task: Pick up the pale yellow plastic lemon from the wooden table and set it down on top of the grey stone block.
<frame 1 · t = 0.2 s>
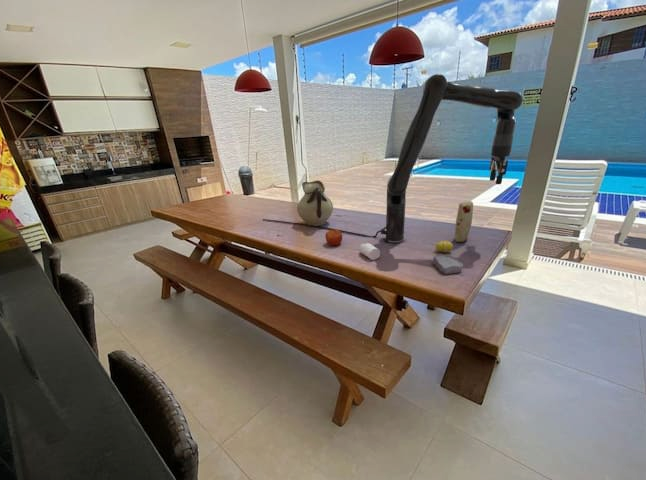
hand: (495, 182, 141), 29 cm above the table, tool pointing down, fingers open, 8 cm apart
roll: (368, 255, 145), on the table
food model: (460, 240, 155), on the table
cream drawstring sack: (317, 223, 194), on the table
tomato: (334, 244, 160), on the table
lemon: (443, 251, 144), on the table
stone block: (448, 268, 129), on the table
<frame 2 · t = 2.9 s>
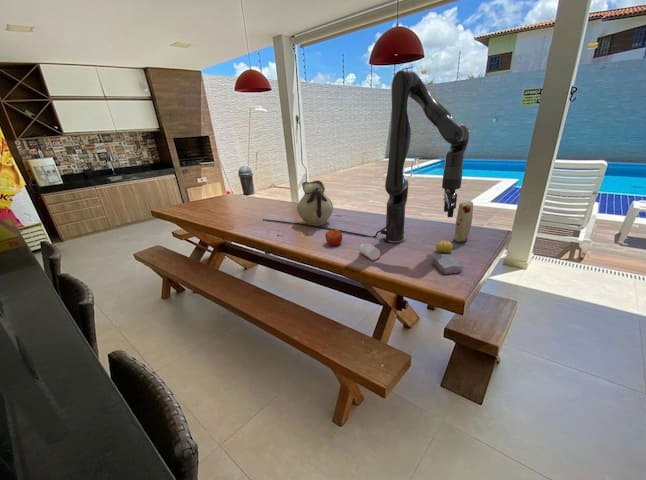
hand: (448, 214, 136), 18 cm above the table, tool pointing down, fingers open, 8 cm apart
nothing on the table moved.
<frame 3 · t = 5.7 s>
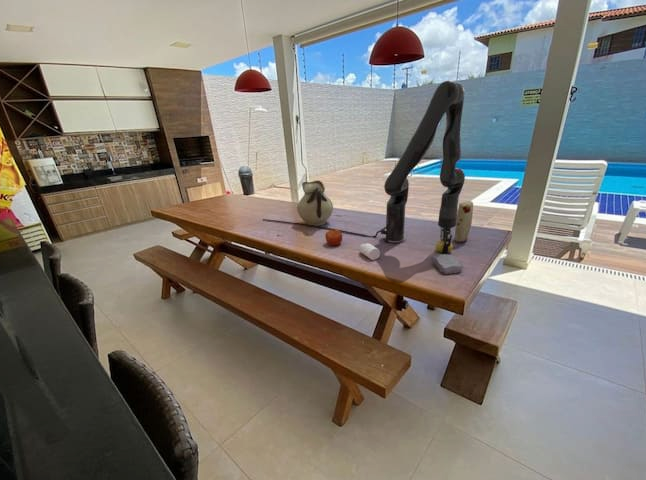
hand: (443, 250, 143), 1 cm above the table, tool pointing down, fingers closed on lemon, 5 cm apart
lemon: (443, 251, 144), on the table, touching gripper
everything else where it was.
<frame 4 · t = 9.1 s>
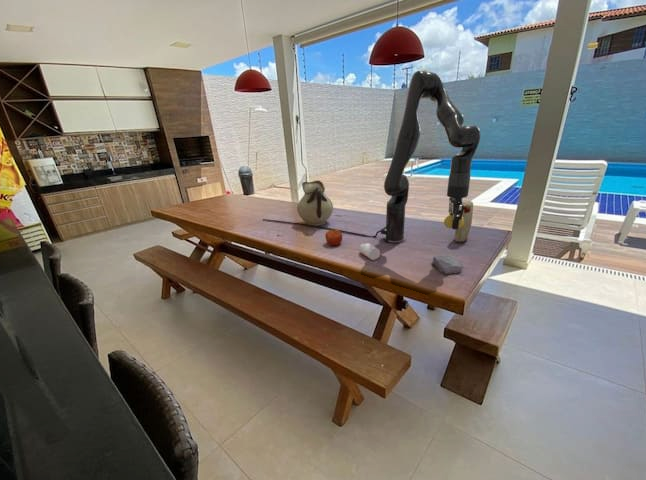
hand: (453, 226, 123), 17 cm above the table, tool pointing down, fingers closed on lemon, 5 cm apart
lemon: (453, 228, 123), point 17 cm above the table, touching gripper
everything else where it was.
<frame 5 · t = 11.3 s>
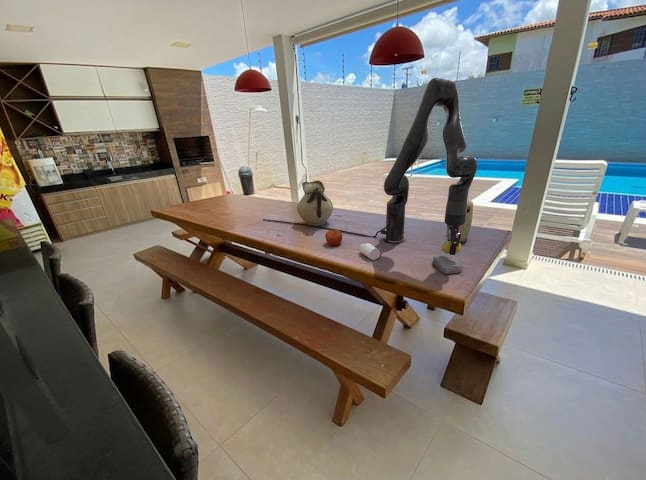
hand: (450, 251, 126), 7 cm above the table, tool pointing down, fingers closed on lemon, 5 cm apart
lemon: (450, 253, 126), point 7 cm above the table, touching gripper
everything else where it was.
when the fingers open (5 cm above the table, at t = 12.5 s): lemon stays where it is, resting on stone block.
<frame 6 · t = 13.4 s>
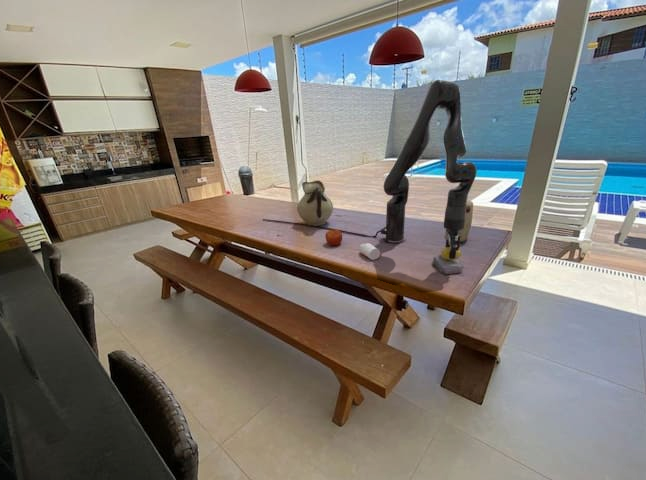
hand: (449, 254, 126), 6 cm above the table, tool pointing down, fingers open, 8 cm apart
lemon: (449, 259, 127), point 4 cm above the table, touching stone block
stone block: (448, 268, 129), on the table, touching lemon
everything else where it was.
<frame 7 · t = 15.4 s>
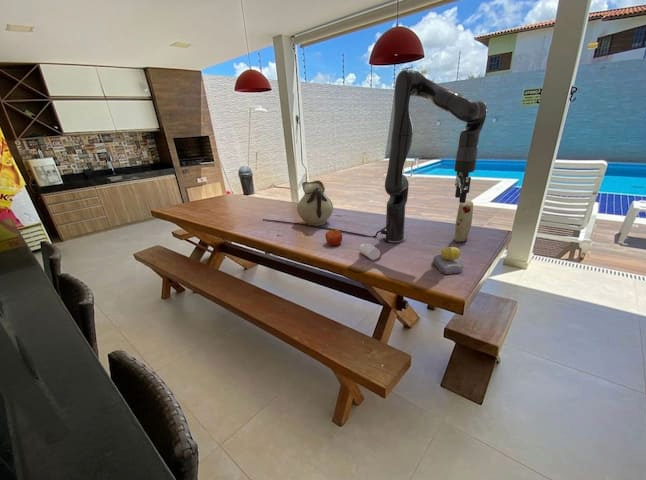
hand: (459, 200, 126), 26 cm above the table, tool pointing down, fingers open, 8 cm apart
nothing on the table moved.
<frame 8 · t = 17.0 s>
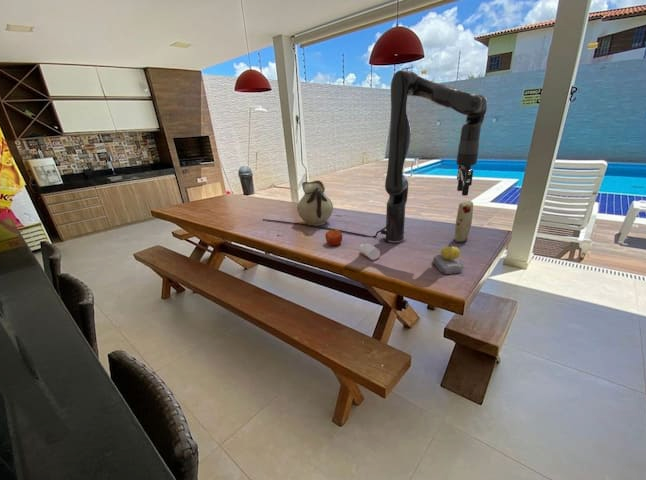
hand: (462, 193, 128), 28 cm above the table, tool pointing down, fingers open, 8 cm apart
lemon: (449, 259, 127), point 4 cm above the table, tilted 11°, touching stone block
everything else where it was.
at the end: lemon inside the target area on the stone block (0.1 cm from its centre), point 4.2 cm above the stone block's base; lemon touching stone block; the gripper is holding nothing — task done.
